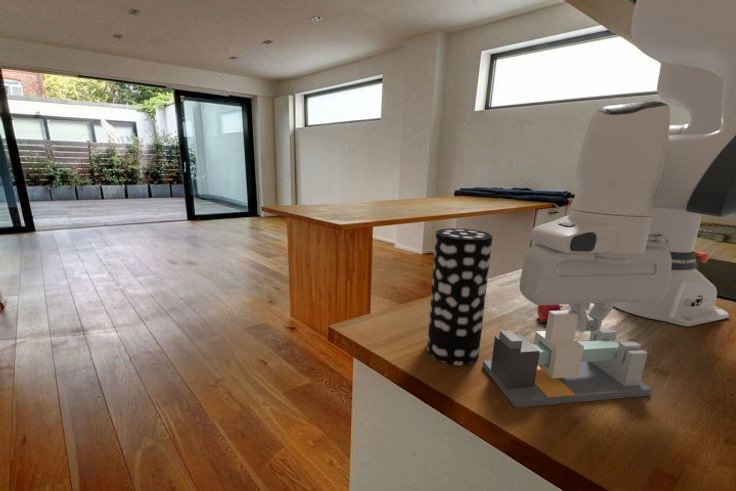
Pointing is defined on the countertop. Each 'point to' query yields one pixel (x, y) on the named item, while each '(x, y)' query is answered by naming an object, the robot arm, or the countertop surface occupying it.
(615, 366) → the gray notched block
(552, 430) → the countertop surface
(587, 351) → the pale teal rod
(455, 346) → the white-spotted black cylinder
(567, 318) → the sleeve
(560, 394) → the board
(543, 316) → the fruit
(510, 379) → the block
